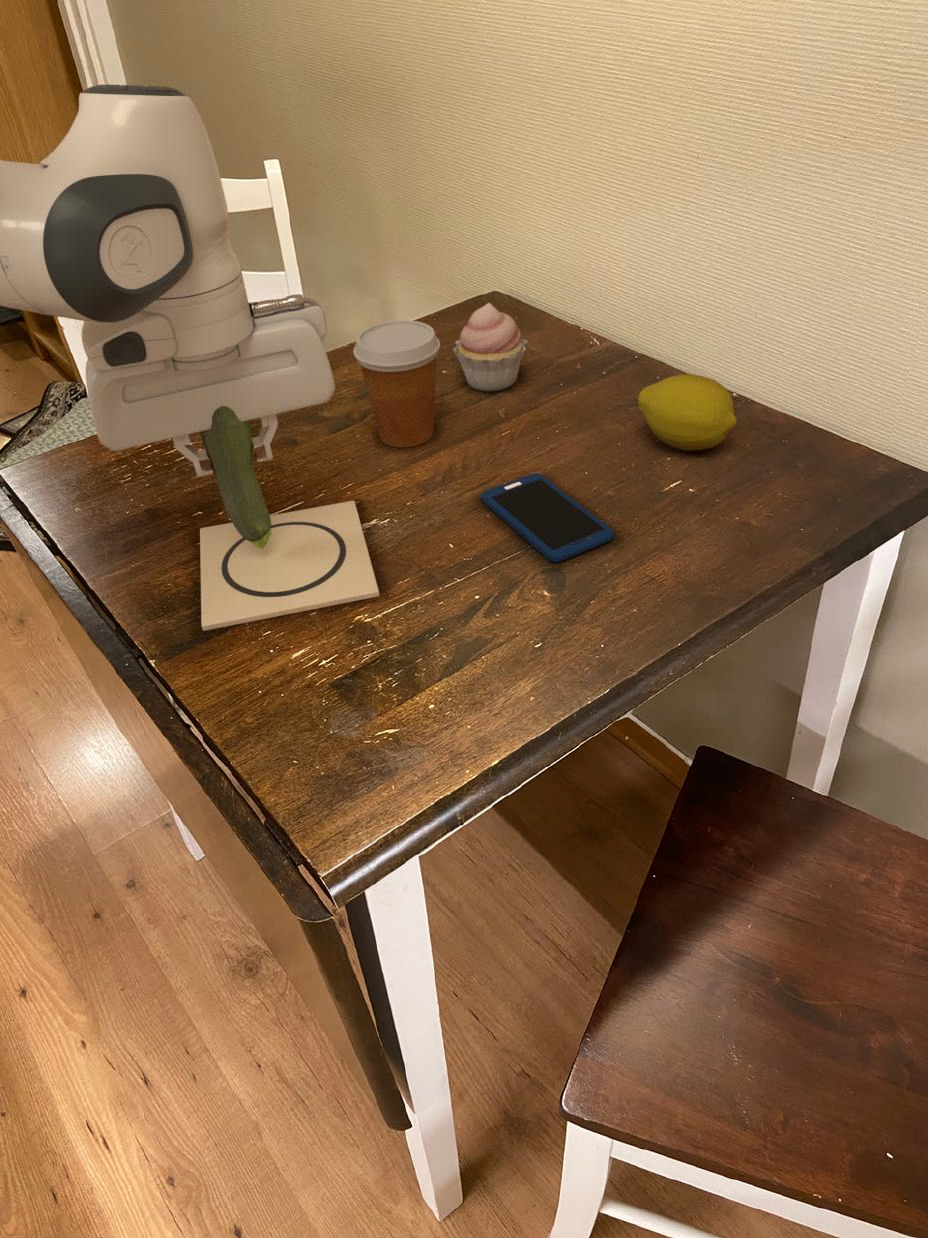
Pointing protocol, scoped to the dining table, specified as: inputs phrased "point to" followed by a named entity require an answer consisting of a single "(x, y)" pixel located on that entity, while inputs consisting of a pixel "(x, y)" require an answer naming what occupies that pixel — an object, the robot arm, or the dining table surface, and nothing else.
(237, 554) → the board
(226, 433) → the vegetable
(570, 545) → the cell phone
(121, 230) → the robot arm
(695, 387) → the lemon
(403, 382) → the disposable coffee cup
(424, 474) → the dining table surface
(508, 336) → the cupcake
